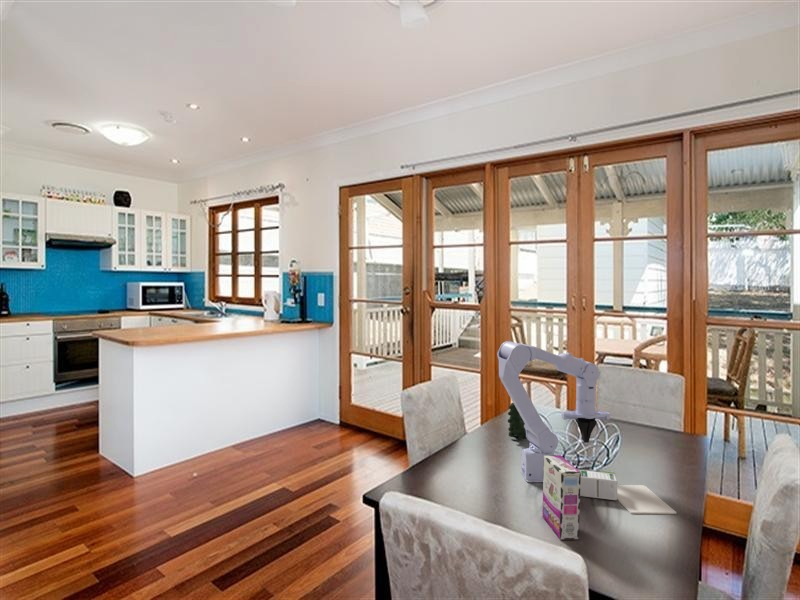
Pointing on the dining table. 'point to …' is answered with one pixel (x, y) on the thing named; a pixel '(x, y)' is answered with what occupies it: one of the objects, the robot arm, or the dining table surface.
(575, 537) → the candy bar box
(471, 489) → the dining table surface
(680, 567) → the dining table surface
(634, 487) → the cream white mat
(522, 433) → the dark green lumpy piece
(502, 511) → the dining table surface
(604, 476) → the syrup box
